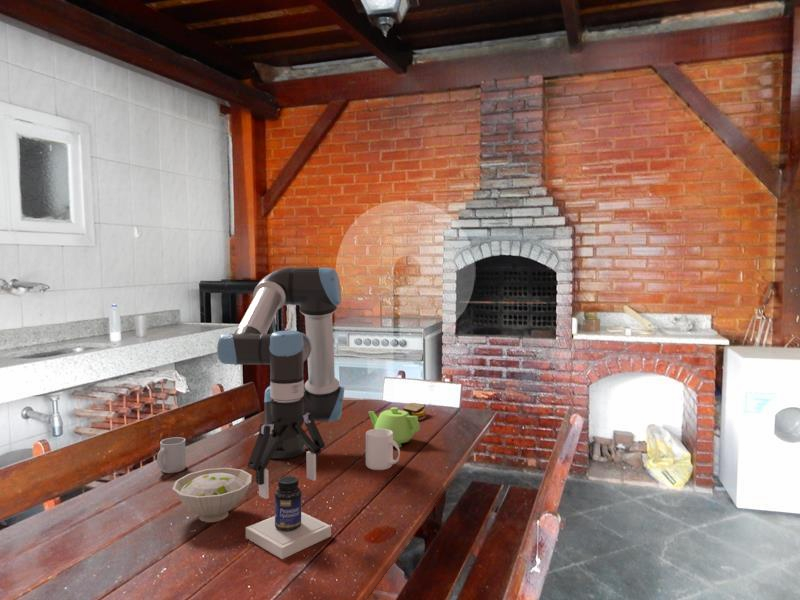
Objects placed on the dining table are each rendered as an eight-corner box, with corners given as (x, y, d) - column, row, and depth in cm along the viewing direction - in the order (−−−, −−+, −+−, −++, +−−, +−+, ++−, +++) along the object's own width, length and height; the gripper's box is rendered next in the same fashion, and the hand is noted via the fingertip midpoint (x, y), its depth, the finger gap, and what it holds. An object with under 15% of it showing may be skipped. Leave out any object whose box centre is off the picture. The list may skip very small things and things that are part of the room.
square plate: (245, 537, 131) (245, 526, 131) (294, 517, 142) (294, 507, 141) (281, 559, 122) (281, 547, 122) (330, 536, 132) (330, 525, 132)
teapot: (360, 443, 200) (360, 408, 199) (378, 433, 212) (378, 400, 211) (411, 452, 191) (411, 415, 190) (426, 441, 203) (427, 406, 202)
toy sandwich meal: (389, 418, 234) (389, 406, 233) (411, 412, 243) (411, 401, 243) (411, 424, 225) (411, 412, 225) (433, 417, 235) (433, 406, 234)
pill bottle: (278, 534, 128) (278, 486, 127) (271, 522, 133) (271, 477, 132) (305, 528, 130) (304, 481, 130) (297, 517, 136) (297, 473, 135)
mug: (391, 475, 170) (391, 440, 170) (360, 467, 177) (360, 433, 176) (406, 466, 178) (407, 433, 177) (376, 459, 184) (376, 427, 183)
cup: (190, 466, 177) (190, 438, 176) (167, 478, 167) (167, 448, 167) (172, 463, 179) (171, 436, 179) (148, 474, 170) (147, 445, 169)
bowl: (208, 541, 129) (207, 499, 129) (156, 521, 140) (155, 481, 139) (269, 510, 146) (268, 472, 145) (218, 494, 156) (217, 458, 155)
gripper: (249, 412, 118) (251, 510, 120) (338, 391, 136) (339, 476, 138) (230, 406, 123) (232, 500, 125) (318, 386, 141) (319, 468, 143)
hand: (288, 487), depth 131 cm, fingers open, 13 cm apart
